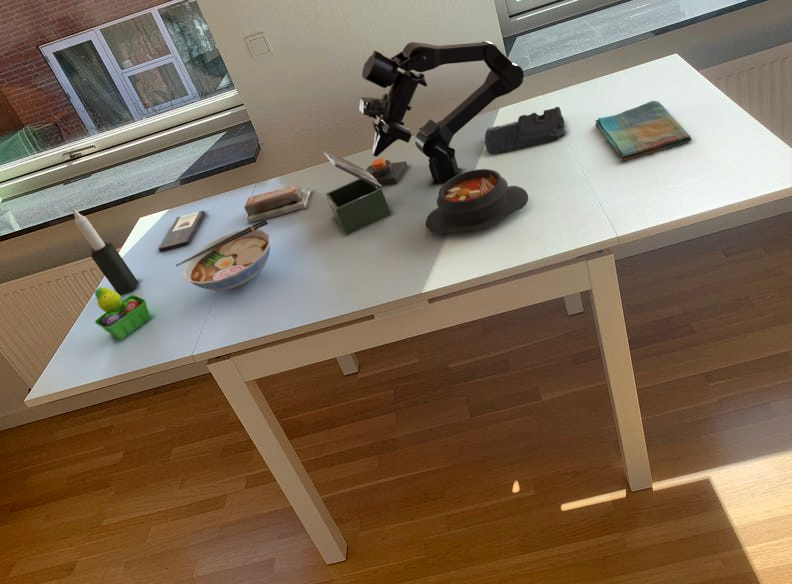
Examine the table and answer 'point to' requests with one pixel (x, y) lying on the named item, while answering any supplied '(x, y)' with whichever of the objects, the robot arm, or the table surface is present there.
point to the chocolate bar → (182, 231)
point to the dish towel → (642, 130)
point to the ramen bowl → (229, 259)
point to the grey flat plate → (351, 168)
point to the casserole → (474, 202)
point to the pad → (388, 172)
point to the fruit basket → (120, 312)
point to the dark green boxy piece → (357, 205)
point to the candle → (107, 258)
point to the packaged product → (276, 203)
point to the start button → (379, 164)
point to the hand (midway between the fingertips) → (374, 155)
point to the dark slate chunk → (525, 132)
